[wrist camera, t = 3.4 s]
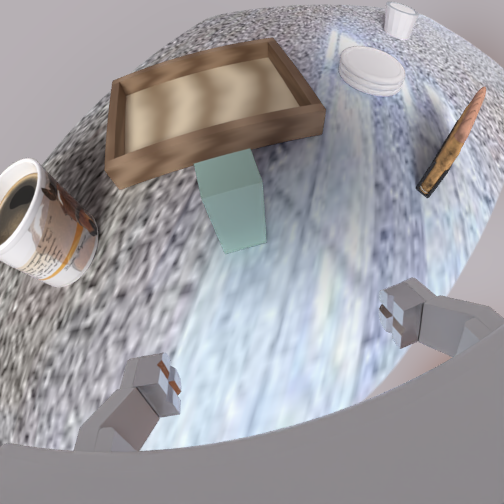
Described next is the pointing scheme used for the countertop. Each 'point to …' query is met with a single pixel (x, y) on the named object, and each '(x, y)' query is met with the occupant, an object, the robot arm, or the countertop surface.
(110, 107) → the wooden serving tray
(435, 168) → the ammunition clip
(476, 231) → the countertop surface
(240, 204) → the grey-green rectangular block
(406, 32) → the white cylinder
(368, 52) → the white round disc stack
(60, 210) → the mug
